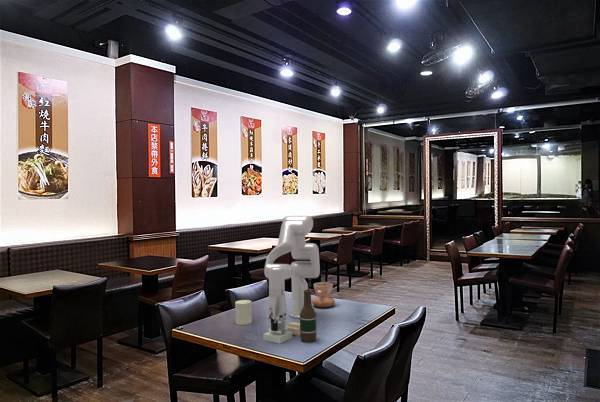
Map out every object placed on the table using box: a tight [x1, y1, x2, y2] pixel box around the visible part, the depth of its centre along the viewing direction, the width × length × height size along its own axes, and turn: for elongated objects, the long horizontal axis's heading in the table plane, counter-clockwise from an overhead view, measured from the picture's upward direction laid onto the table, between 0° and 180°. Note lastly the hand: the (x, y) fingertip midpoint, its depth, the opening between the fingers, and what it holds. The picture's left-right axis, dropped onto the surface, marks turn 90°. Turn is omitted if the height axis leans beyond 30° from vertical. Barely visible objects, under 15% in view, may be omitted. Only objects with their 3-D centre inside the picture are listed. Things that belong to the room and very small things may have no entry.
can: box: [234, 299, 253, 326], centre depth 240 cm, size 9×9×12 cm
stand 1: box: [262, 331, 293, 345], centre depth 210 cm, size 10×10×3 cm
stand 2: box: [285, 321, 300, 337], centre depth 222 cm, size 10×10×3 cm
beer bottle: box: [299, 289, 317, 343], centre depth 208 cm, size 8×8×24 cm
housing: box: [267, 316, 288, 334], centre depth 210 cm, size 5×8×6 cm, turn 55°
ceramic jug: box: [311, 281, 336, 309], centre depth 274 cm, size 18×14×14 cm
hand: (277, 329), depth 210 cm, fingers open, 5 cm apart
